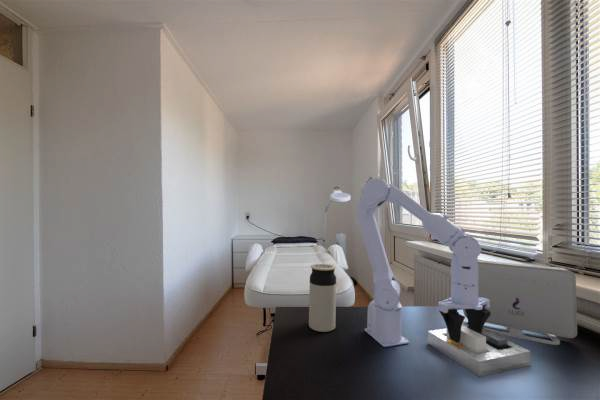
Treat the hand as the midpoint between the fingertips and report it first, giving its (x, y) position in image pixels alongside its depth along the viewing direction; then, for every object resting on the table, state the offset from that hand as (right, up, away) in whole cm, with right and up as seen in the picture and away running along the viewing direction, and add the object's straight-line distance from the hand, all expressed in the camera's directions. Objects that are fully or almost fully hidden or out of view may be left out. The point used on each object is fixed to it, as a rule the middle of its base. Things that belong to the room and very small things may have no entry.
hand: (464, 338), depth 61 cm
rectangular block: (0, -3, 0) cm, 3 cm away
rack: (+3, -4, +1) cm, 5 cm away
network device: (+24, -5, +13) cm, 28 cm away
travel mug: (-34, -4, +14) cm, 37 cm away
